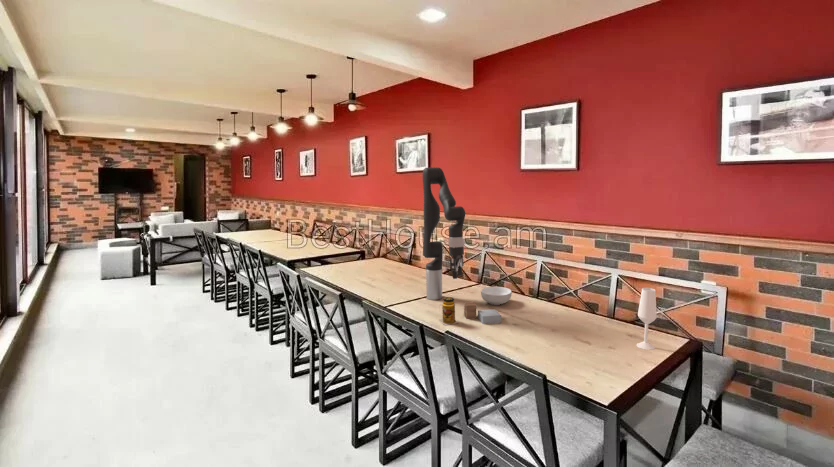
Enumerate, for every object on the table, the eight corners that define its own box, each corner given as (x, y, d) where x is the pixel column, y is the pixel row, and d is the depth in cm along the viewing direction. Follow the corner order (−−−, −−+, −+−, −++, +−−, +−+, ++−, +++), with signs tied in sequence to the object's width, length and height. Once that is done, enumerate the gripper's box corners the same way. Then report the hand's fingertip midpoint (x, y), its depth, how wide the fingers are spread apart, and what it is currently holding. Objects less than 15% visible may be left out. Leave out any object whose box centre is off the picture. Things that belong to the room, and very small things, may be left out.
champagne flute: (638, 341, 176) (641, 286, 172) (656, 345, 172) (659, 288, 168) (634, 346, 171) (637, 289, 167) (653, 351, 166) (656, 292, 163)
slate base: (477, 318, 210) (477, 310, 209) (495, 317, 211) (495, 309, 210) (482, 324, 201) (482, 316, 200) (500, 323, 202) (500, 315, 201)
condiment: (444, 325, 200) (444, 301, 198) (438, 319, 208) (438, 296, 206) (458, 323, 202) (458, 299, 200) (452, 317, 210) (451, 294, 208)
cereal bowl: (475, 300, 237) (475, 288, 236) (499, 296, 244) (499, 285, 243) (492, 309, 222) (492, 296, 221) (517, 304, 228) (517, 292, 227)
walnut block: (464, 315, 213) (464, 302, 212) (473, 315, 213) (473, 301, 212) (466, 319, 208) (466, 305, 207) (476, 318, 208) (476, 304, 207)
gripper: (453, 243, 221) (454, 274, 223) (444, 247, 208) (446, 279, 210) (467, 243, 218) (468, 274, 220) (458, 247, 205) (460, 280, 207)
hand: (457, 276), depth 215 cm, fingers open, 8 cm apart
